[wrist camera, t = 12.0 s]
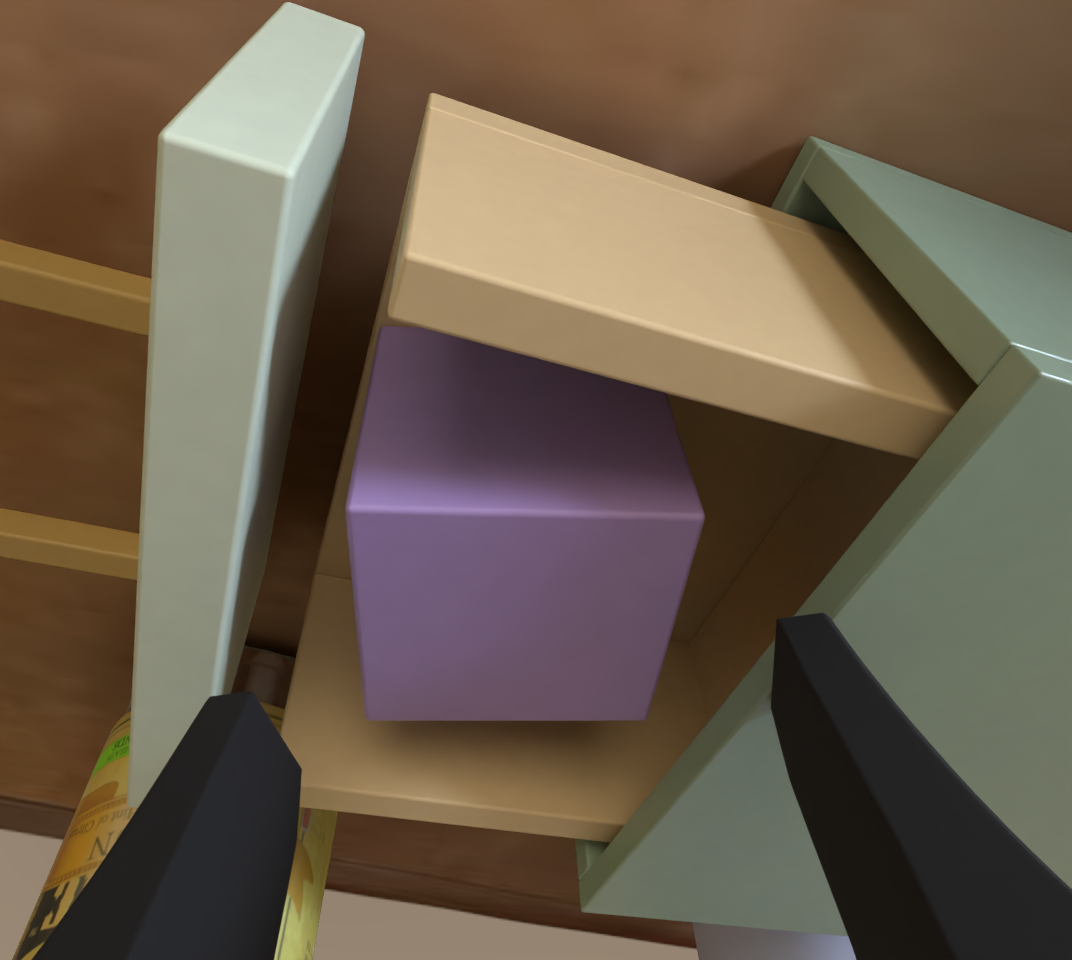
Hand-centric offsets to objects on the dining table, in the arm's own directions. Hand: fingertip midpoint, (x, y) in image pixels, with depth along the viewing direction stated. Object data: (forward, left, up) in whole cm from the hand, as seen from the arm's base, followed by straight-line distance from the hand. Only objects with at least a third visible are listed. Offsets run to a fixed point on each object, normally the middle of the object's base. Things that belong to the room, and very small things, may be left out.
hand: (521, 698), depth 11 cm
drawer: (+1, +2, -7) cm, 7 cm away
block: (0, 0, -6) cm, 6 cm away
